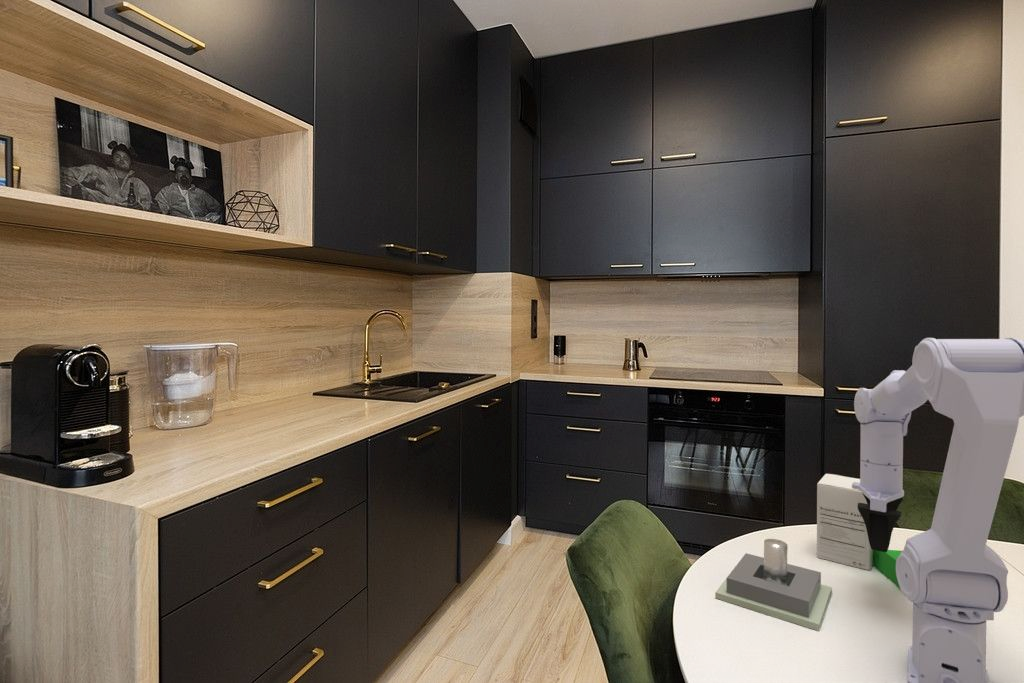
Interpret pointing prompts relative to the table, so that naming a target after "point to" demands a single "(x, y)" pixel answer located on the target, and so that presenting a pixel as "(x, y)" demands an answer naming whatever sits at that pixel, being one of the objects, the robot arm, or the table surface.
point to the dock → (777, 592)
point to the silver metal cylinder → (775, 561)
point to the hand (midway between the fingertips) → (880, 542)
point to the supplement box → (842, 523)
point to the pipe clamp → (887, 563)
